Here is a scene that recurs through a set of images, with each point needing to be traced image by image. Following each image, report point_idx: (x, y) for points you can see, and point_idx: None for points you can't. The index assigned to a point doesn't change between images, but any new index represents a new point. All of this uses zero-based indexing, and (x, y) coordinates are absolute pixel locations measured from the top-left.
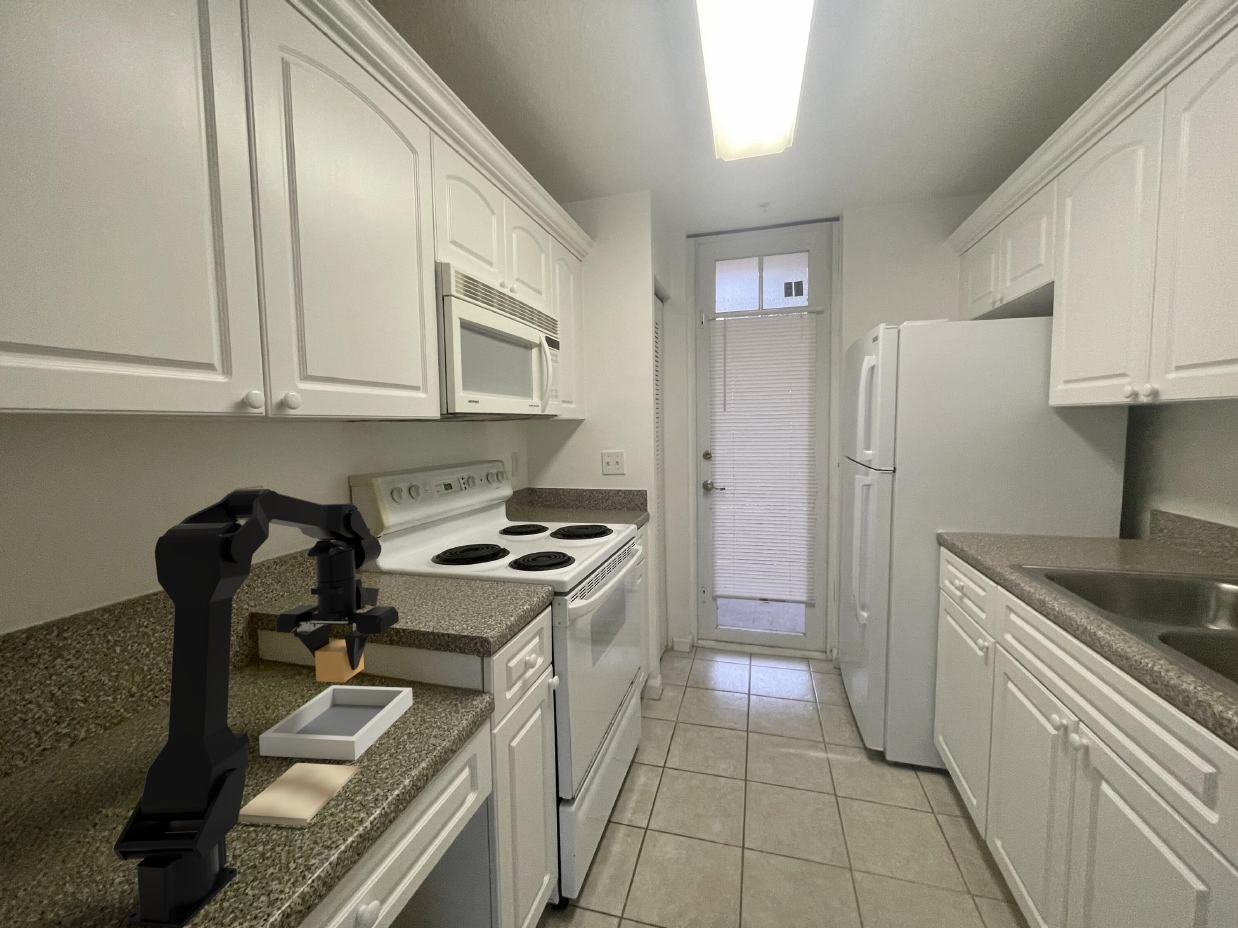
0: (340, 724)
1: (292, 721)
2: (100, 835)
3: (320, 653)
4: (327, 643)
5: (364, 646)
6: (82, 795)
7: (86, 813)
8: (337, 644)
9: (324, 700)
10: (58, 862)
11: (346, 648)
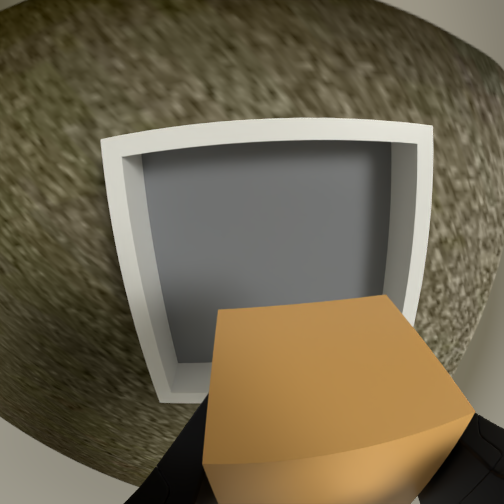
0: (258, 253)
1: (157, 329)
2: (135, 463)
3: None
4: (200, 499)
5: (482, 422)
6: (33, 416)
7: (76, 440)
8: (306, 500)
9: (135, 202)
10: (144, 478)
11: (405, 497)
